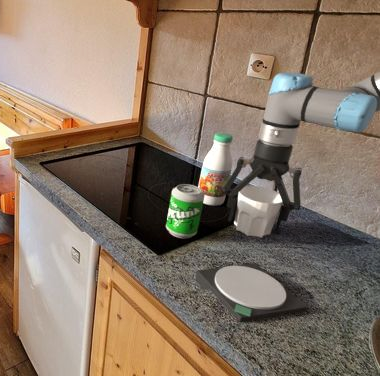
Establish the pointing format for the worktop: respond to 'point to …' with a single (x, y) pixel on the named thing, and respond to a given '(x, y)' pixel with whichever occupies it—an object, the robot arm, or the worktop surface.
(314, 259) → the worktop surface
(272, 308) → the scale
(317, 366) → the worktop surface
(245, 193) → the cup
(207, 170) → the milk bottle
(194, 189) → the soda can
